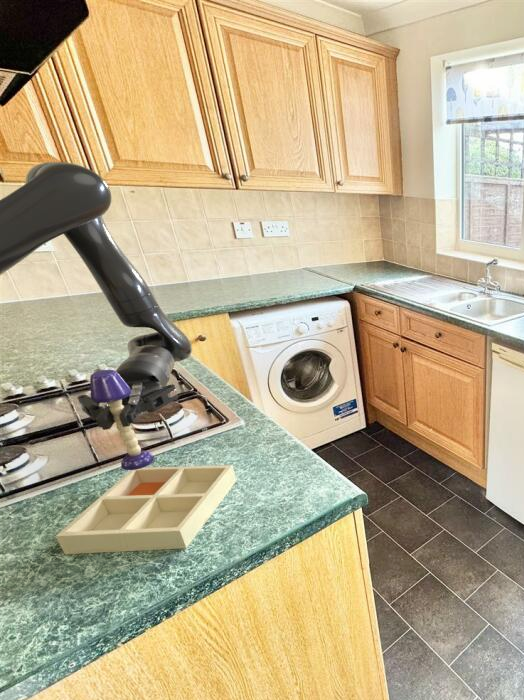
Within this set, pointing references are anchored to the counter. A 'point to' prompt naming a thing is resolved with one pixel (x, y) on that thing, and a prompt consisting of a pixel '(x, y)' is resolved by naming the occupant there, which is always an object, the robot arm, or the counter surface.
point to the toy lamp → (112, 391)
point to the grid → (149, 510)
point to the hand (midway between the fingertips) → (114, 422)
